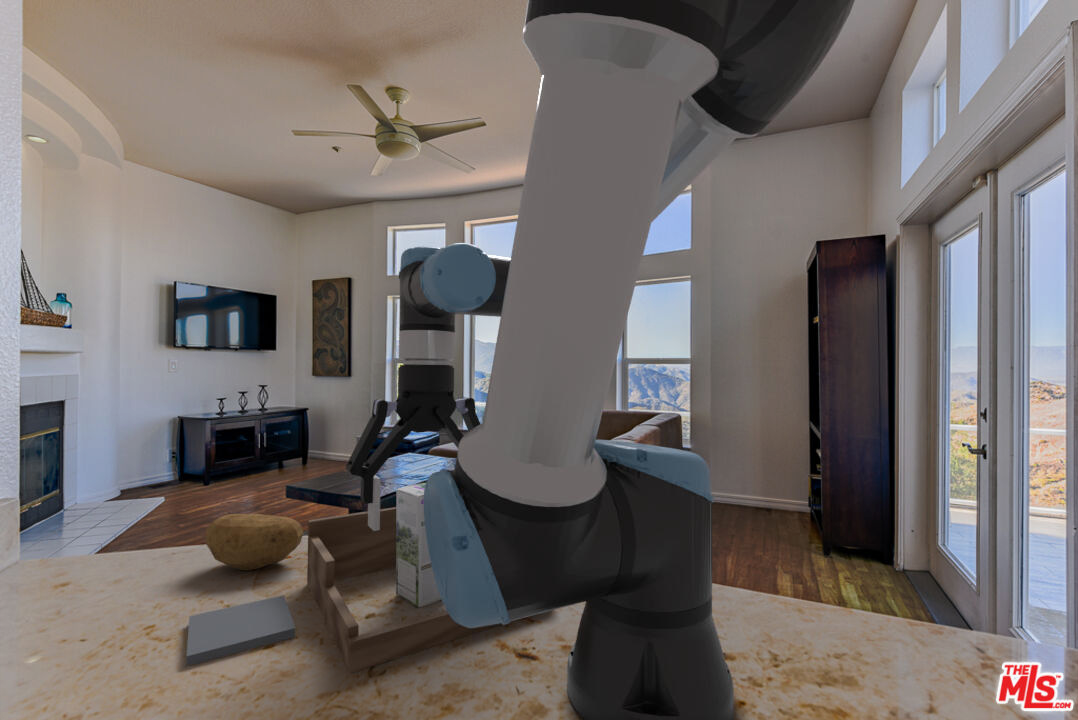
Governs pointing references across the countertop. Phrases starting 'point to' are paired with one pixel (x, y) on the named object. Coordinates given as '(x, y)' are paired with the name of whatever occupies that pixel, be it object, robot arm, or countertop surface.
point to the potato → (252, 539)
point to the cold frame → (357, 551)
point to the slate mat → (238, 629)
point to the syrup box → (413, 549)
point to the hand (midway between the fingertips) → (424, 519)
